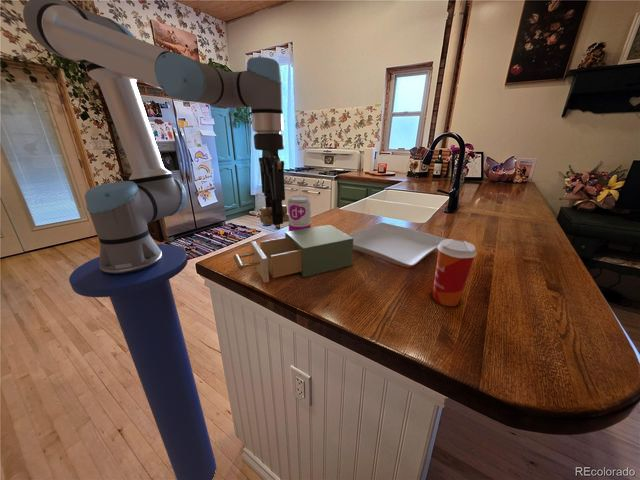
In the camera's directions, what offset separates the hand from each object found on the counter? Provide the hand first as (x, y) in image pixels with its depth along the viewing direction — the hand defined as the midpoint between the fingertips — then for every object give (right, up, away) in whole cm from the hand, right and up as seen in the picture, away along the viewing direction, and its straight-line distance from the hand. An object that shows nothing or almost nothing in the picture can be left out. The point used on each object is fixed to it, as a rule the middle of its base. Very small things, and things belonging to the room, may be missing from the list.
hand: (274, 221), depth 73 cm
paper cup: (+43, -20, -13) cm, 49 cm away
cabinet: (+12, -12, +5) cm, 18 cm away
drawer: (0, -13, -1) cm, 13 cm away
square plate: (+38, -9, +14) cm, 41 cm away
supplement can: (+5, -4, +24) cm, 25 cm away
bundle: (0, 0, 0) cm, 0 cm away
